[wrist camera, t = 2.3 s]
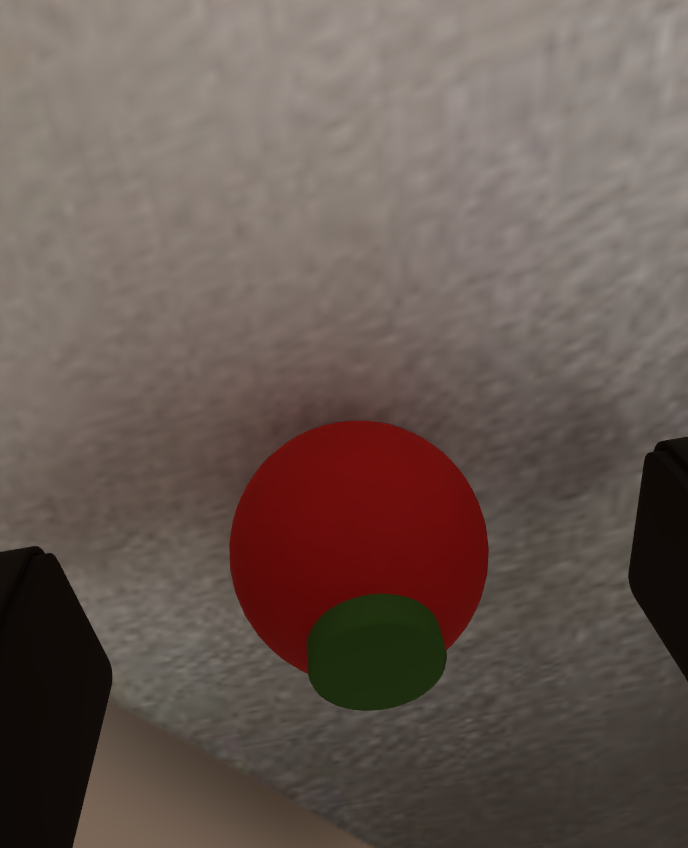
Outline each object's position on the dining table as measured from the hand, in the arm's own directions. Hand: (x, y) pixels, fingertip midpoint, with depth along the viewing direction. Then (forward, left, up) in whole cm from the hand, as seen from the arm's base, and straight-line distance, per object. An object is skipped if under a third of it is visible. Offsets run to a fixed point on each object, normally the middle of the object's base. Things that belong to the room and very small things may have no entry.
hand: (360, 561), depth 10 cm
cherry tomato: (0, 0, -2) cm, 2 cm away
